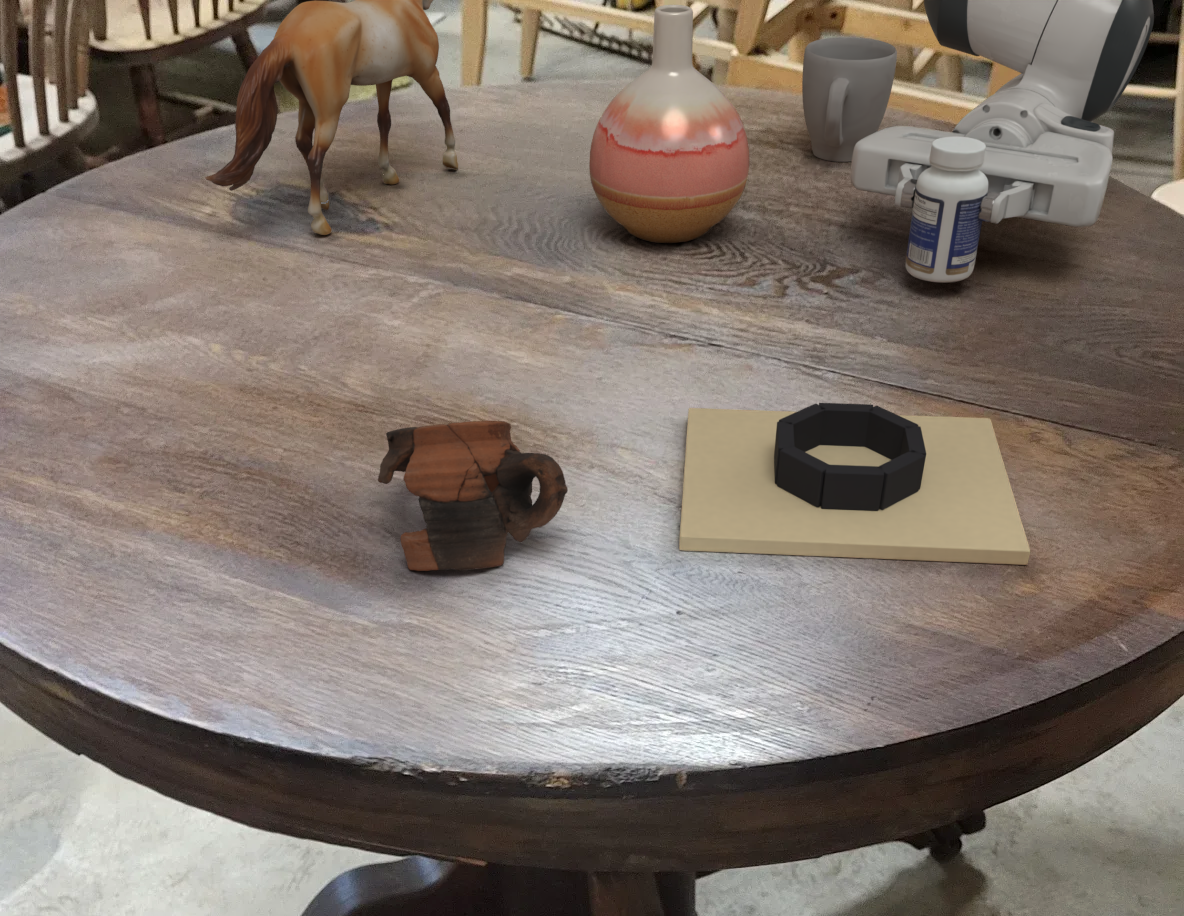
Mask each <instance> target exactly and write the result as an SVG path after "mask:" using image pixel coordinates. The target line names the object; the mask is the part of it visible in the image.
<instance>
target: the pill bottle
mask: <svg viewBox="0 0 1184 916" xmlns="http://www.w3.org/2000/svg"><path fill="white" fill-rule="evenodd" d="M985 149H986V145H985V144H984V143H983V142H981V141H980V140H977V139H973V138H968V137H958V136H956V137H944V138H939V139H936V140H934V141H933V142H932V146H931V152H930V157H929V159H930V160H929V163H930V164H931V165H932V166H931V167H930V168H928V169H926V170H924V171H923V172H922V173H921V174H920V175H919V177H918V180H917V184H916V191H915V197H914V205H913V209H912V213H911V219H910V226H909V227H910V228H909V232H908V233H909V234H908V242H907V249H906V255H905V270H906V271H907V273H908V274H910V275H911V276H912V277H913V278H916V279H918V280H922V281H926V282H932V283H944V284H945V283H956V282H960V281H963V280H966V279H968V278H969V277H970V276H971V275H972V274H973V272H974V269H975V265H976V260H977V259H976V258H977V253H978V248H979V247H978V246H979V241H980V236H981V231H982V225H983V221H979V220H978V216H979V213H980V212H981V208H980V205H981V201H982V198H983V197H984V196H986V194H987V192H988V179H987V177H986V176H985V174H983V173H982V172H981V171H979V168H980V167H982V165H983V162H984V156H985Z"/></svg>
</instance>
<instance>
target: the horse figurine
mask: <svg viewBox="0 0 1184 916" xmlns="http://www.w3.org/2000/svg"><path fill="white" fill-rule="evenodd" d="M433 1H434V0H352V1H349V2H340V1H339V2H338V1H331V0H309V1H308V0H307V1H303V2H300V3H299V4H297V5H296V6H295V7H294V8H293V9H292V10H291V11H290V12H289V13H288V14H287V15H286V16H285V18H284V19H283V20H282V21H281V22H280V24H279V25H278V27H277V30H276V32H275V34H274V36H273V39H272V40H271V41H270V43H269V44H268V45H267V46H266V47H265V48H264V49H263V50H262V51H261V53H260V54H259V56H257V58H256V59H255V60H254V61H253V63H252V64H251V65H250V66H249V68H248V71H247V72H246V74H245V76H244V79H243V81H242V83H241V85H240V87H239V90H238V94H237V96H236V109H235V123H234V127H235V146H234V154H233V157H232V159H231V160H230V161H229V162H228V163H226V164H225V166H223V167H222V168H221V169H219V170H218V171H217V172H215V173H213V174H210V175H207V176H205V178H204V179H205V180H207V181H209V182H211V183H212V184H214V185H216V186H220V187H228V189H229V191H235V190H237V189H239V188H241V187H243V186H244V185H245V184H247V183H248V182H249V181H250V180H251V178H252V177H253V175H254V171H255V167H256V165H257V164H258V162H259V161H260V159H261V158H262V156H263V154H264V153H265V151H266V150H267V149H268V147H269V146H270V143H271V141H272V139H273V134H274V132H275V130H276V125H277V121H278V103H277V96H276V93H275V84H276V83H280V84H281V86H282V87H283V88H284V89H285V90H286V91H287V92H288V93H290V95H292V96H293V97H295V98H296V99H297V101H298V111H297V112H298V114H297V115H298V116H297V122H298V124H297V129H296V133H295V137H294V138H295V140H294V141H295V146H296V148H297V150H298V151H299V152H300V154H301V155H302V157H303V159H304V161H305V163H306V166H307V170H308V173H309V178H310V194H309V195H310V198H309V202H308V207H307V213H308V214H309V216H311V217H313V219H312V221H311V223H310V228H311V231H312V232H313V233H315V234H318V235H322V236H326V235H329V234H331V233H332V231H333V230H332V228H331V225H330V224H329V223H328V221H327V219H326V217H325V216H324V214H323V211H322V210H324V211H328V210H329V209H330V200H329V194H328V191H327V189H326V187H325V178H324V174H323V165H324V160H325V156H326V154H327V152H328V151H329V149H330V147H331V145H332V144H333V142H334V140H335V137H336V134H337V130H338V126H339V122H340V116H341V114H342V110H343V108H344V106H345V105H346V104H347V102H348V100H349V98H350V92H351V86H356V87H357V86H358V87H364V86H365V87H366V86H374V85H375V90H376V91H375V92H376V97H377V98H376V99H377V105H378V110H377V114H376V115H377V116H376V123H377V127H378V132H379V151H378V156H377V163H378V164H377V165H378V166H379V167H380V168H381V169H382V173H381V177H382V180H383V183H384V184H385V185H395V184H399V183H400V178H399V176H398V174H397V172H396V169H394V167H392V166H391V165H390V153H389V134H390V130H391V128H392V116H391V112H390V98H391V92H392V88H393V87H392V86H393V81H394V80H395V79H398V78H402V77H408V78H412V79H413V80H414V81H415V82H416V83H417V84H418V85H419V86H420V88H421V89H422V91H423V92H424V93H425V95H426V96H427V97H428V98H429V99H430V100H431V102H432V104H433V106H434V107H435V109H436V110H437V114H438V116H439V118H440V121H441V123H442V126H443V127H444V128H443V129H444V145H445V146H446V149H445V151H444V152H443V154H442V165H443V166H444V167H445V168H448V169H452V170H457V171H458V169H459V163H458V162H459V161H458V156H457V152H456V139H455V134H454V130H453V125H452V121H451V120H452V119H451V108H450V104H449V101H448V98H447V96H446V90H445V87H444V84H443V82H442V79H441V77H440V71H439V69H438V67H437V63H438V58H439V52H440V51H439V49H440V42H439V37H438V34H437V32H436V30H435V28H434V26H433V24H432V23H431V21H430V19H429V17H428V15H427V13H426V11H428V10H429V9H430V8H431V4H432V3H433ZM313 135H314V136H313ZM313 138H314V139H313ZM383 174H384V175H383ZM327 200H329V201H328V203H326V204H321V202H326V201H327Z"/></svg>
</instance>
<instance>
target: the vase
mask: <svg viewBox="0 0 1184 916" xmlns="http://www.w3.org/2000/svg"><path fill="white" fill-rule="evenodd" d="M653 15H654V16H653V34H652V35H653V39H652V59H651V60H652V61H651V65H650V67H649V68H648V69H647V70H645V71H644V72H642V73H641V74H639V75H638V76H636V77H635V78H634V79H633V80H631V81H630V82H629V83H628V84H627V85H626V86H624V87H623V88H622V89H621V90H620V91H619V92H618V93H617V94H616V95H614V97H613V98H612V99H611V100H610V102H608V105H607V106H606V108H605V109H604V110H603V112H602V114H601V116H600V118H599V120H598V121H597V124H596V126H595V129H594V132H593V134H592V139H591V143H590V149H589V163H588V166H589V167H588V169H589V177H590V183H591V186H592V190H593V192H594V194H595V195H596V199H597V200H598V202H599V204H600V205H601V207H602V208H603V210H605V212H606V213H607V214H608V215H609V216H610V217H611V218H612V219H613V220H614V221H615V222H617V223H619V224H620V225H621V226H622V227H623V228H624V229H625V231H626V232H627V233H628V234H630V235H631V236H633V237H634V238H637V239H639V240H641V241H646V242H650V243H657V244H678V243H685V242H686V243H687V242H690V241H694V240H696V239H699V238H701V237H703V236H704V235H705V234H707V233H708V232H709V231H710V230H711V229H712V228H713V227H714V226H715V225H717V224H718V223H720V222H721V221H722V220H724V219H725V218H726V217H727V216H728V215H729V214H730V213H731V212H732V210H733V209H734V208H735V206H737V203H738V202H739V201H740V199H741V197H742V195H743V194H744V191H745V188H746V185H747V181H748V177H749V173H750V148H749V147H750V146H749V141H748V136H747V132H746V129H745V126H744V123H743V121H742V118H741V116H740V114H739V112H738V111H737V109H736V107H735V106H734V104H733V103H732V102H731V100H730V99H729V98H728V97H727V96H726V94H725V93H724V92H723V91H722V90H721V89H720V88H719V87H718V86H717V85H716V84H715V83H713V82H712V80H710V79H709V78H707V77H706V76H705V75H703V74H702V73H701V72H700V71H698V70H697V69H696V68H695V66H694V64H693V42H694V39H693V37H694V35H693V34H694V11H693V9H692V7H690V6H687V5H683V4H663V5H660V6H658V7H657V6H656V8H655V10H654V13H653Z"/></svg>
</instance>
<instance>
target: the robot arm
mask: <svg viewBox="0 0 1184 916" xmlns="http://www.w3.org/2000/svg"><path fill="white" fill-rule="evenodd" d="M923 7H924V10H925V14H926V18H927V20H928V23H929V26H930V28H931V30H932V32H933V35H934V36H935V39H936V40H937V42H938V44H939V45H940V46H942V47H944V48H946V49H947V48H948V49H952V50H954V51H957V52H961V53H964V54H968V55H970V56H974V57H982V58H984V59H987V60H989V61H991V62H994V63H996V64H998V65H1001V66H1004V67H1005V68H1008V69H1010V70H1013V71H1015V72H1017V73H1019V74H1018V75H1016V76H1014V77H1013V78H1011V79H1010V80H1008V81H1007V82H1006V83H1005V84H1003V85H1002V86H1001V87H999V88H998V89H997V91H995V92H994V93H993V94H991V95H990V96H987V98H986V99H984V100H983V101H981V102H980V103H979V104H978V105H976V106H975V107H974V108H973V109H971V110H970V111H969V112H967V114H965V115H964V116H963V117H962V118H961V119H960V120H959V121H958V122H957V123H956V125H955V127H954V128H953V130H952V131H947V130H938V129H933V128H926V127H919V126H911V125H892V126H888V127H885V128H882V129H878V131H877V132H875V133H873V134H871V135H869V136H867V137H865V138H863V139H861V140H860V141H858V142H857V143H856V145H855V147H854V151H853V156H852V161H851V163H850V164H851V165H850V183H851V184H852V186H853V187H854V188H855V189H856V190H859V191H863V192H868V193H869V192H870V193H875V194H881V195H887V196H893V197H894V206H895V207H898V208H904V209H905V208H906V209H911V210H913V205H914V197H915V191H916V184H917V180H918V177H919V175H920V174H921V173H922V172H923V171H924V170H926V169H928V168H930V167H931V166H932V165H931V164H930V163H929V160H930V159H929V157H930V152H931V146H932V142H933V141H934V140H936V139H939V138H944V137H956V136H958V137H968V138H973V139H977V140H980V141H981V142H983V143H984V144H985V145H986V149H985V156H984V162H983V165H982V167H980V168H979V171H981V172H982V173H983V174H985V176H986V177H987V179H988V192H987V194H986V196H984V197H983V198H982V201H981V205H980V208H981V212H980V213H979V216H978V220H979V221H982V222H984V223H990V224H996V225H998V224H999V223H1000V222H1001V221H1002V220H1003V219H1010V218H1020V219H1026V220H1033V221H1038V222H1044V223H1050V224H1055V225H1061V226H1067V227H1071V228H1087V227H1092V226H1094V225H1095V224H1096V222H1097V221H1098V220H1099V218H1100V215H1101V212H1102V208H1103V204H1104V200H1105V196H1106V192H1107V188H1108V183H1109V179H1110V175H1111V170H1112V165H1113V159H1114V156H1113V147H1114V139H1115V131H1114V129H1112V128H1110V127H1109V126H1105V125H1102V124H1098V123H1096V122H1094V121H1095V120H1096V119H1099V118H1100V117H1101V116H1103V115H1105V114H1106V113H1108V112H1109V111H1111V109H1112V108H1113V107H1114V106H1115V105H1116V103H1117V102H1118V101H1119V99H1120V98H1121V96H1122V95H1123V93H1124V91H1125V90H1126V88H1128V87H1127V86H1128V85H1129V83H1130V82H1131V80H1132V78H1133V76H1134V75H1135V73H1136V70H1137V69H1138V66H1139V65H1140V62H1141V60H1142V58H1143V56H1144V54H1145V51H1146V49H1147V47H1148V44H1149V40H1150V38H1151V35H1152V30H1153V28H1154V22H1155V13H1154V4H1153V0H923Z"/></svg>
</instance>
